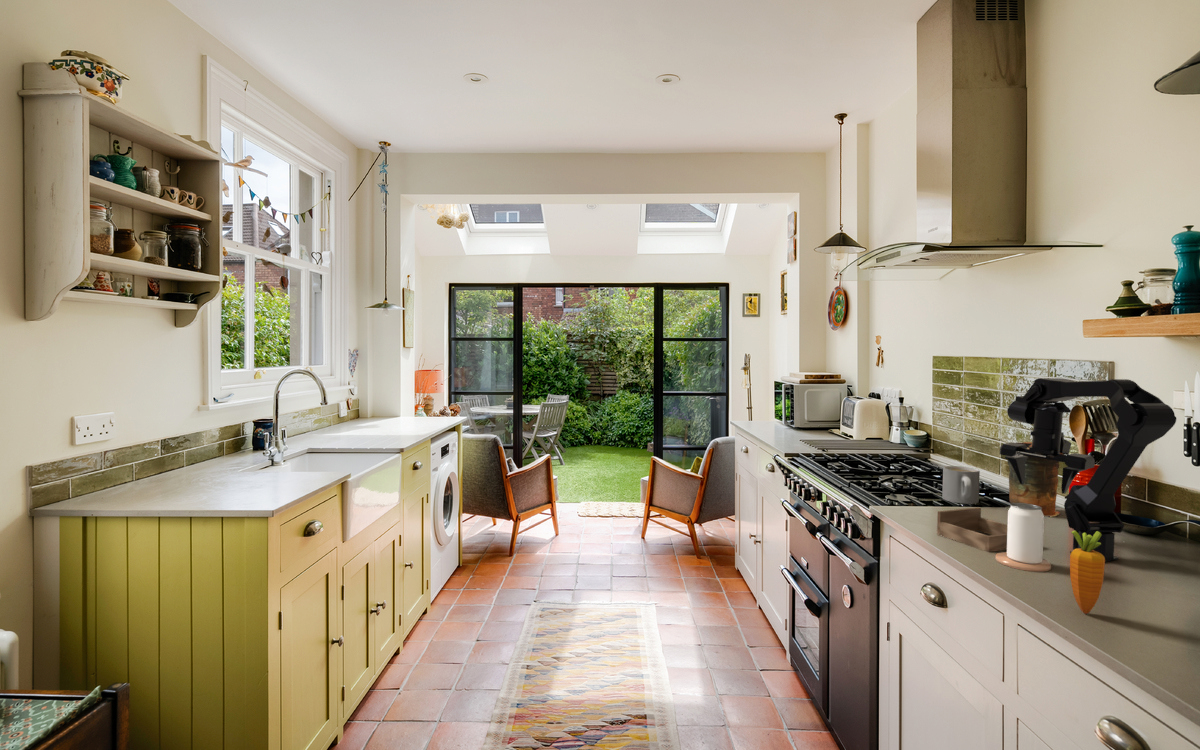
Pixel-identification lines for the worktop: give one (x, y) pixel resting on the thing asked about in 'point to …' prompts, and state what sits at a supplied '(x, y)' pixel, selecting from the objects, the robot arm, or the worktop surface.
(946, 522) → the open wooden tray
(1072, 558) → the carrot
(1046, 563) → the saucer
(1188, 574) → the worktop surface
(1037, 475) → the vessel
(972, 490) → the coffee mug
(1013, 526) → the can
